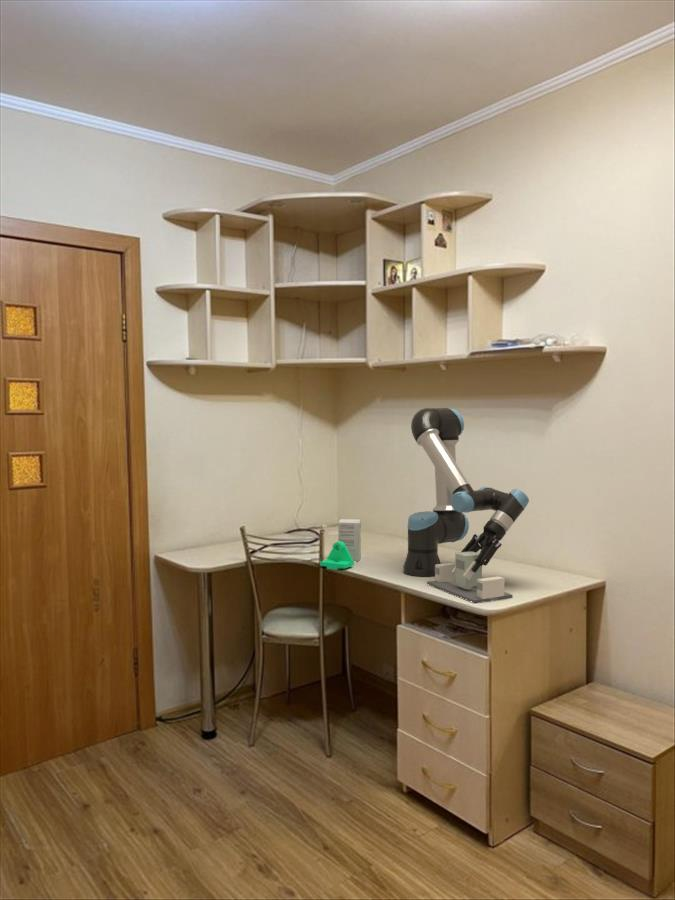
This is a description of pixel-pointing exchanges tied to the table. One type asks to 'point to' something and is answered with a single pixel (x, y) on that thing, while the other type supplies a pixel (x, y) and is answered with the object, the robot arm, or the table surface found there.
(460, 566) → the block
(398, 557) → the table surface
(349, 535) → the supplement box
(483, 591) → the rail plate
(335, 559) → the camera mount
